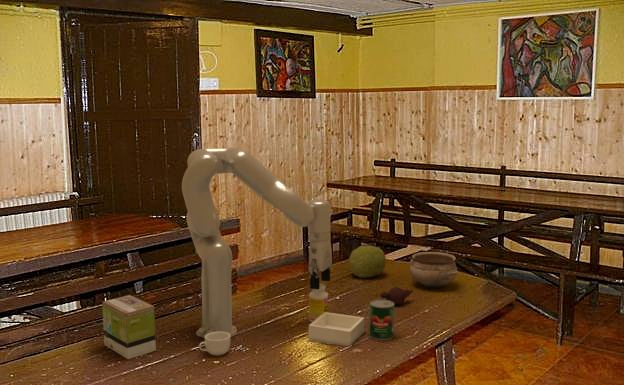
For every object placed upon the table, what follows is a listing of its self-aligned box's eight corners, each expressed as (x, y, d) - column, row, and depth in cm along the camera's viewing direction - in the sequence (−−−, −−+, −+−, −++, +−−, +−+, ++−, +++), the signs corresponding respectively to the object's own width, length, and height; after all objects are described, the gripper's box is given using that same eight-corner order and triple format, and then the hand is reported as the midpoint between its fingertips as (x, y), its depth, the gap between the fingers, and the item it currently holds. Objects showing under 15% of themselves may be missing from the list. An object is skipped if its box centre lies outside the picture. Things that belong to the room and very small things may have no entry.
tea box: (103, 346, 207) (100, 300, 205) (132, 338, 214) (130, 293, 212) (127, 360, 196) (125, 312, 194) (157, 351, 203) (155, 304, 201)
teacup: (223, 346, 207) (223, 329, 207) (235, 354, 201) (235, 337, 200) (194, 353, 202) (193, 336, 201) (205, 361, 196) (204, 344, 195)
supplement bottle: (326, 325, 226) (326, 288, 224) (307, 323, 227) (307, 287, 226) (329, 318, 233) (329, 283, 231) (311, 317, 234) (311, 281, 232)
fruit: (359, 269, 297) (376, 240, 294) (380, 287, 287) (398, 258, 285) (337, 264, 285) (354, 234, 282) (358, 283, 275) (376, 252, 273)
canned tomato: (374, 341, 212) (374, 308, 210) (365, 332, 219) (366, 300, 217) (397, 338, 214) (398, 306, 212) (388, 330, 221) (388, 298, 220)
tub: (350, 347, 207) (350, 331, 206) (308, 340, 212) (308, 325, 211) (364, 332, 219) (364, 317, 219) (325, 326, 225) (325, 312, 224)
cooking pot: (394, 283, 276) (395, 254, 274) (426, 275, 287) (427, 248, 285) (439, 298, 256) (440, 267, 254) (472, 289, 267) (473, 259, 265)
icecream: (404, 281, 255) (373, 291, 247) (417, 281, 249) (385, 291, 241) (408, 299, 255) (377, 310, 247) (421, 300, 249) (389, 310, 241)
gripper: (320, 242, 216) (321, 293, 219) (338, 231, 232) (339, 278, 235) (298, 241, 219) (300, 291, 222) (318, 230, 235) (319, 276, 238)
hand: (320, 284), depth 228 cm, fingers open, 9 cm apart
